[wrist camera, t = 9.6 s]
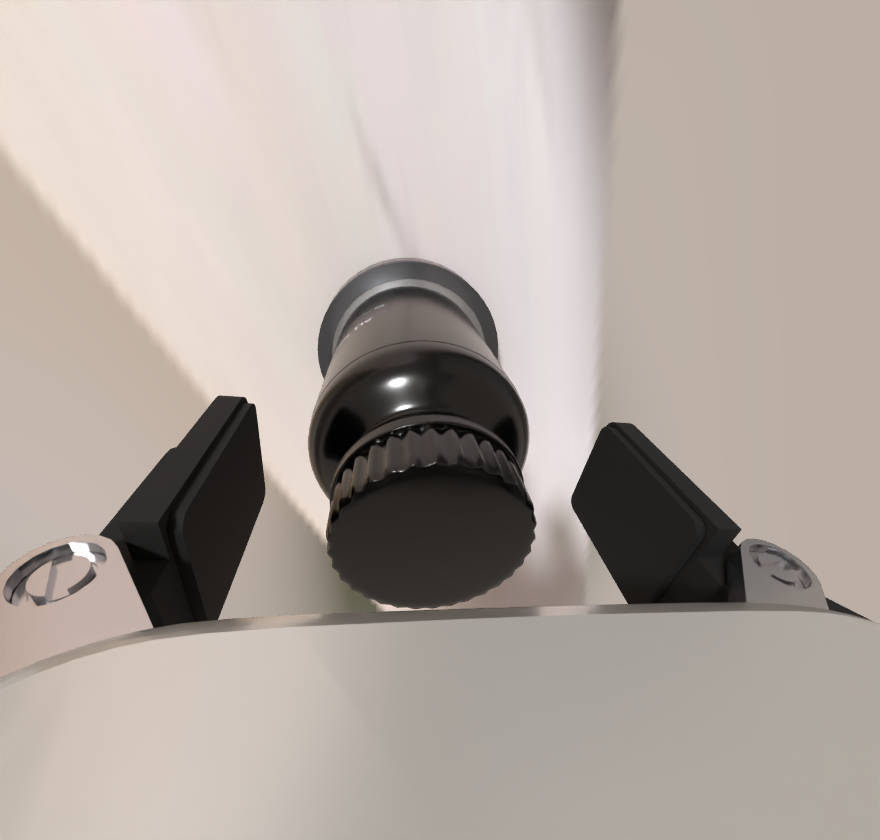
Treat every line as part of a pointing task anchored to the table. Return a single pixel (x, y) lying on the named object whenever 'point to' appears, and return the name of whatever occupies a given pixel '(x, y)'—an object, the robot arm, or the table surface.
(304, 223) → the table surface
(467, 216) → the table surface
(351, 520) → the supplement bottle
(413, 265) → the plate
